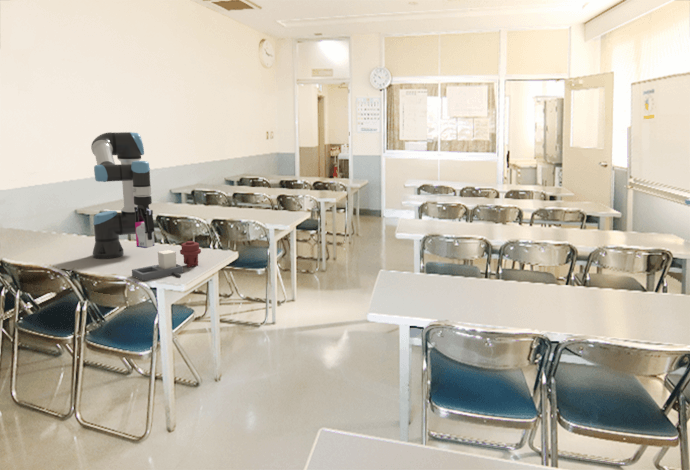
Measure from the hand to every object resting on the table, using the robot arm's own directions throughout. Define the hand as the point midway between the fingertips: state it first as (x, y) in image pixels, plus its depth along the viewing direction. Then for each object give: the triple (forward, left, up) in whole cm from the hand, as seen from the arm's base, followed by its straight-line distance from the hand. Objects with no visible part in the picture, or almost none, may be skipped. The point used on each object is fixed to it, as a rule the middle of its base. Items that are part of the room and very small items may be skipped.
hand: (145, 245), depth 244 cm
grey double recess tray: (+3, +5, -15) cm, 16 cm away
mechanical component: (-3, +24, -15) cm, 29 cm away
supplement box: (0, 0, -1) cm, 1 cm away
